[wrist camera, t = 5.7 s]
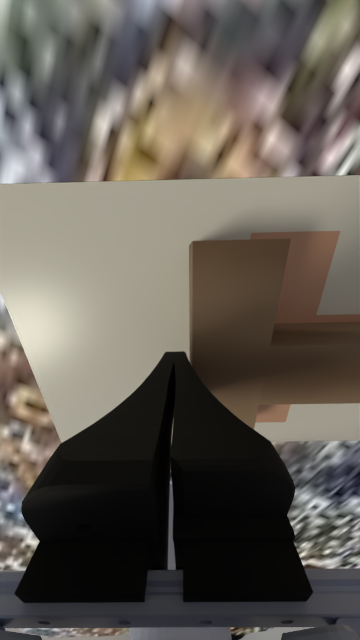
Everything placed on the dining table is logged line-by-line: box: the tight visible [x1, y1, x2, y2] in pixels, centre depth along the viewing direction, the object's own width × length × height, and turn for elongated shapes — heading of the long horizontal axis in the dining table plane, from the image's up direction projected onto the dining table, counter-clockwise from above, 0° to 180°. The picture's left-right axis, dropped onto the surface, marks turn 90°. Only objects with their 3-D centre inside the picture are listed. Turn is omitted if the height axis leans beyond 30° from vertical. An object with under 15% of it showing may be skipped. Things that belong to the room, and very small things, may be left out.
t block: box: [189, 238, 360, 429], centre depth 11 cm, size 14×14×3 cm
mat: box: [0, 175, 360, 443], centre depth 12 cm, size 20×34×1 cm, turn 91°
